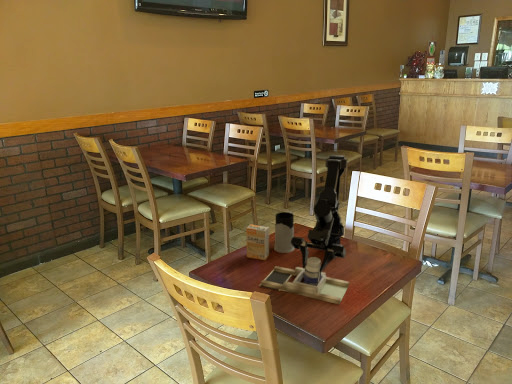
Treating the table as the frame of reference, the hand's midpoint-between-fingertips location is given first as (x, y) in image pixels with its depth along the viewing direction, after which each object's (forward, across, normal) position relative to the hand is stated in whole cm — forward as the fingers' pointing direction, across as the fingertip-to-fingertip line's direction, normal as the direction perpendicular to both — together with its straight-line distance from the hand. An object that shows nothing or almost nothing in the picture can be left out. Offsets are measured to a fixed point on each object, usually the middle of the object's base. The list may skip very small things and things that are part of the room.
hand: (312, 270), depth 135 cm
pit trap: (+4, -13, +6) cm, 15 cm away
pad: (+4, +7, +6) cm, 10 cm away
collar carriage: (+4, -1, +6) cm, 8 cm away
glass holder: (-15, -21, +26) cm, 37 cm away
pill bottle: (+4, 0, +6) cm, 7 cm away
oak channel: (+4, -3, +6) cm, 8 cm away
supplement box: (-4, -28, +16) cm, 32 cm away
